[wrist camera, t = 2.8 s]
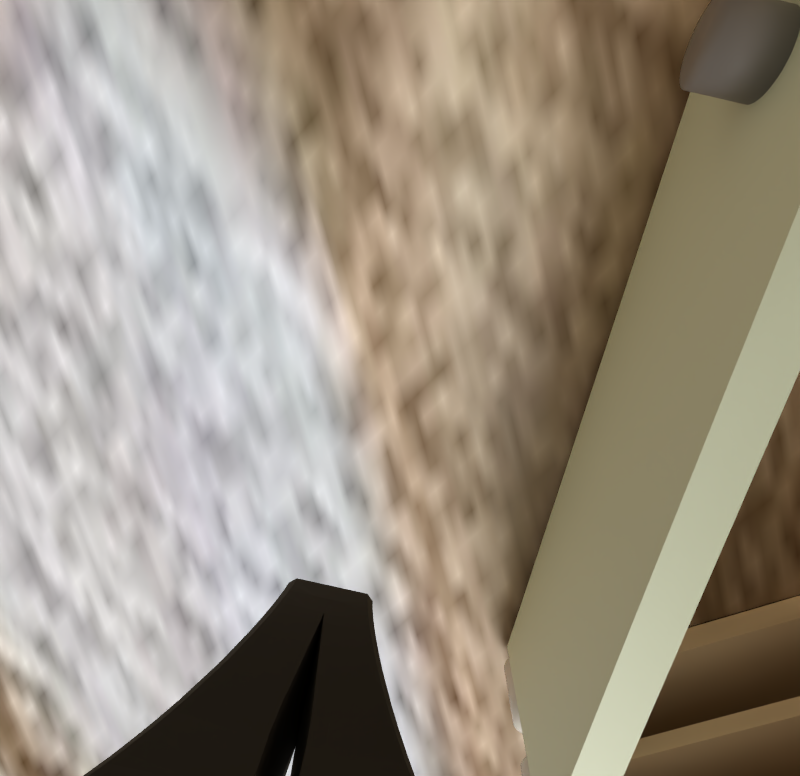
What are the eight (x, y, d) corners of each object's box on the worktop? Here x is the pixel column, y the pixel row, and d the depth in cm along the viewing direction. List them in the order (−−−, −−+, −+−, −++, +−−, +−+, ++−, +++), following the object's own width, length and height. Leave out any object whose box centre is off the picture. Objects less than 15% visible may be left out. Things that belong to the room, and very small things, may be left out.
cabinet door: (779, -35, 13) (1071, -254, 7) (529, 676, 18) (575, 885, 12) (682, -57, 13) (894, -296, 7) (463, 661, 18) (477, 864, 12)
